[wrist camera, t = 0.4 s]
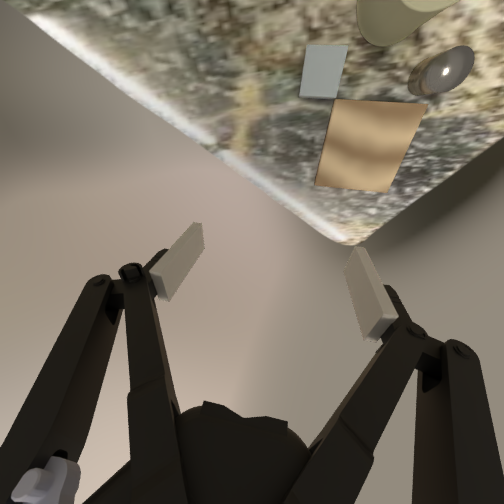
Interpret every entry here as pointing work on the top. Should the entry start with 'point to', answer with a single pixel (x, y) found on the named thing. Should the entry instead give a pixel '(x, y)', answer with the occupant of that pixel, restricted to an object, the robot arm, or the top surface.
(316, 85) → the block gray
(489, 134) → the top surface
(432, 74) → the tin
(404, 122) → the board
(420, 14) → the can
